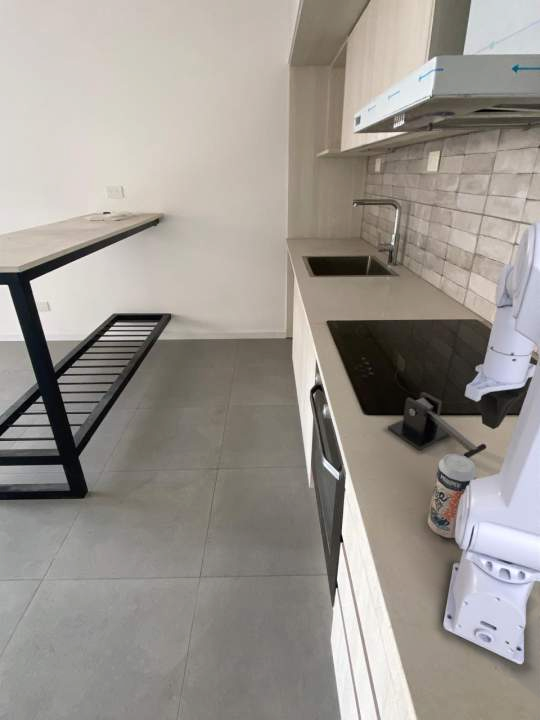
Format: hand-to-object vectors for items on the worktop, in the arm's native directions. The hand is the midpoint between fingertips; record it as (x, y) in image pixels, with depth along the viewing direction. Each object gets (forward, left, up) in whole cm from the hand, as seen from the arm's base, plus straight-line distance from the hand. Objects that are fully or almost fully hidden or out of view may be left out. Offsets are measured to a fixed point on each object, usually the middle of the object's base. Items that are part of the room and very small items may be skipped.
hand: (490, 425), depth 64 cm
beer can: (-15, +3, -10) cm, 18 cm away
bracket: (+7, +11, -10) cm, 17 cm away
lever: (+5, +7, -7) cm, 11 cm away
